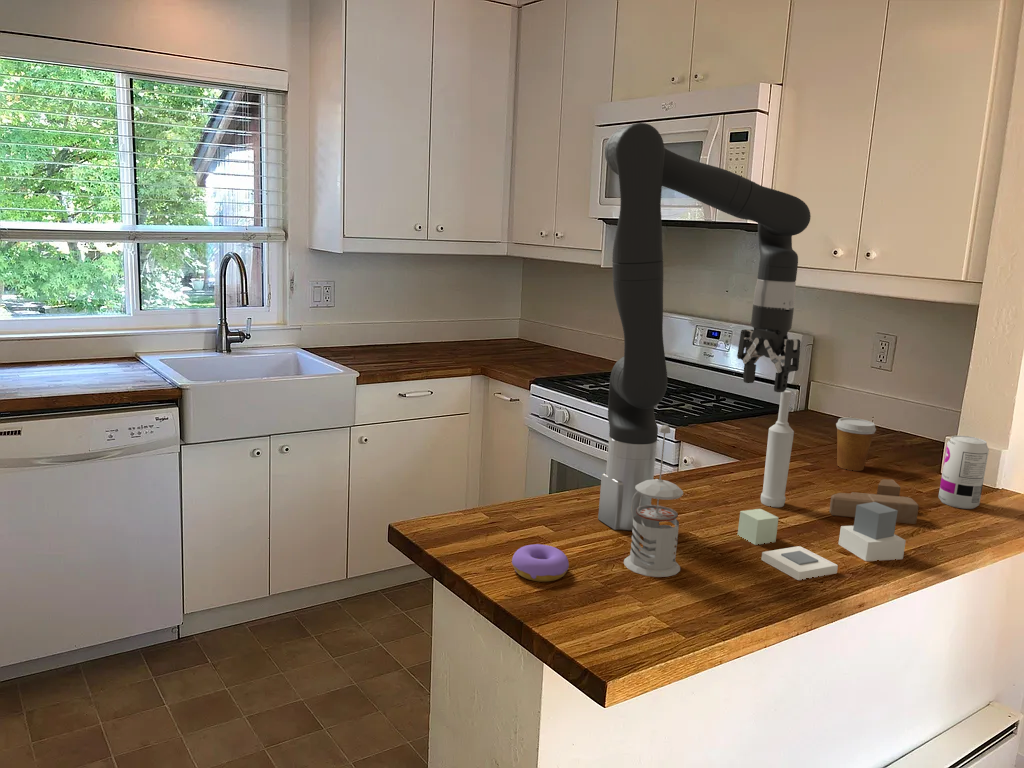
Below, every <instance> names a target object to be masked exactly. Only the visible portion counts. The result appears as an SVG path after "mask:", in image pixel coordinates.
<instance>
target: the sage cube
mask: <svg viewBox="0 0 1024 768" xmlns="http://www.w3.org/2000/svg"><path fill="white" fill-rule="evenodd" d="M778 525H779V517H778V516H776V515H775V514H772V513H771V512H768V511H766V510H764V509H762V508H755V509H747V510H740V511H739V520H738V529H737V536H738V535H739V536H740V538H741V537H742V539H743V538H744V540H745V539H746V540H745V541H747V540H748V541H747V542H749V543H750V542H751V544H752V545H755V546H759V545H764V543H765V544H771V543H770V542H772V543H776V540H777V535H778V534H777V532H778ZM739 536H738V537H739ZM758 544H759V545H758Z"/></svg>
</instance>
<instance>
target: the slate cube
mask: <svg viewBox="0 0 1024 768" xmlns="http://www.w3.org/2000/svg"><path fill="white" fill-rule="evenodd" d="M897 512H898V510H895V509H892V508H890V507H887V506H884V505H882V504H879V503H877V502H871V503H865V504H859V505H857V506H856V513H855V517H854V519H853V520H854V521H853V522H854V523H853V526H854V528H853V530H854V531H856V532H859V533H861V534H863V535H866V536H868V537H870V538H873V539H875V540H876V539H881V538H887V537H892V536H894V534H895V531H896V525H897V524H896V523H897V522H896V518H897Z"/></svg>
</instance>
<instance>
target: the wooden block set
mask: <svg viewBox="0 0 1024 768" xmlns="http://www.w3.org/2000/svg"><path fill="white" fill-rule="evenodd" d="M901 488H902V487H901V486H900V485H899V484H898V483H897V482H896V481H895V480H894V479H884V478H883V479H881V480H880V481H879V483H878V485H877V489H876V490H877V491H876V494H875V493H864V492H863V493H862V492H855V491H853V492H851V493H847V492H838V493H834V494H832V495H831V496H830V503H829V513H830V514H831V516H837V517H846V518H855V513H856V506H857V505H859V504H865V503H871V502H877V503H879V504H882V505H884V506H887V507H890V508H892V509H895V510H898V512H897V518H896V523H903V524H912V525H913V524H914V525H916V524H917V520H918V513H919V504H918V503H917V502H916V501H915V500H914V499H913V498H912V497H908V496H900V494H901Z"/></svg>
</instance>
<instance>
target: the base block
mask: <svg viewBox="0 0 1024 768" xmlns="http://www.w3.org/2000/svg"><path fill="white" fill-rule="evenodd" d="M853 528H854V525H841V526H840V531H839V536H838V538H839V539H838V543H837V544H838V545H839V546H840V547H842V548H844V549H845V550H847V551H848V552H850V553H852V554H853V555H855V556H856V557H858V558H859V559H861V560H863V561H865V562H875V561H876V562H877V560H879V561H893V560H894V561H895V559H896V560H903V559H904V553H905V547H906V541H907V540H906V539H904V538H902V537H901V536H898V534H895V533H894V536H892V537H887V538H881V539H876V540H875V539H873V538H870V537H868V536H866V535H863V534H861V533H859V532H856V531H854V530H853Z"/></svg>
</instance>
